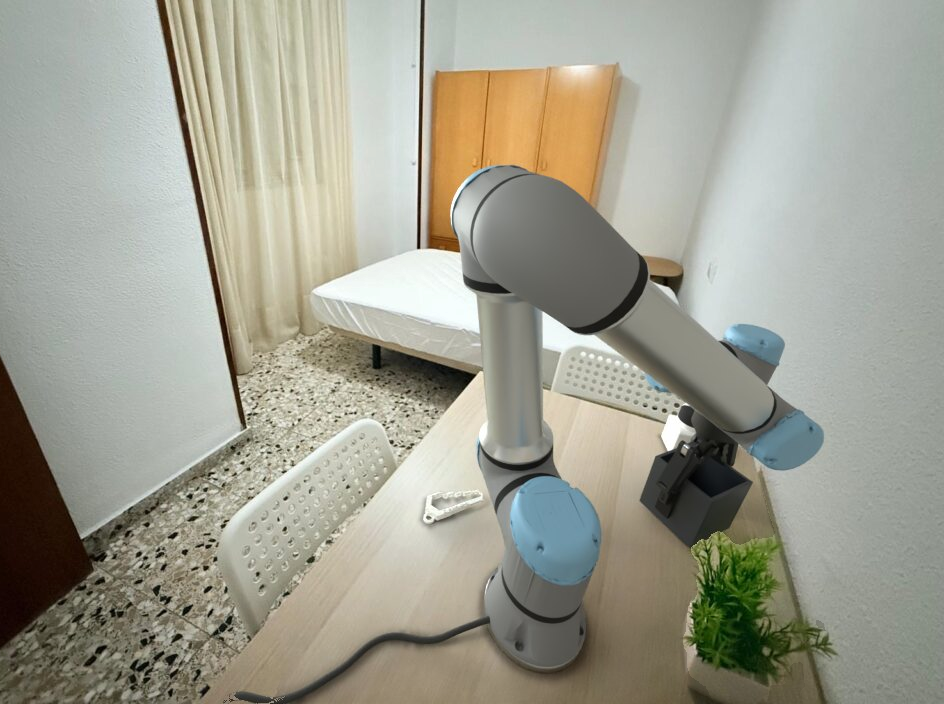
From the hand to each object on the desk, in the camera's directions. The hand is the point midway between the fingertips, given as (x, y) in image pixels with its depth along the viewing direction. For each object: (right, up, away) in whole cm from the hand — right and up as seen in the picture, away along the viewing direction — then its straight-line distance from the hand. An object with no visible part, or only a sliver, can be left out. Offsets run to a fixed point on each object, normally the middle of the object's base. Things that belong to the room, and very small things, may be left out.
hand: (683, 502), depth 78 cm
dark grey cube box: (+3, +1, -7) cm, 7 cm away
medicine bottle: (+12, +4, +19) cm, 23 cm away
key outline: (-45, -2, +3) cm, 45 cm away
